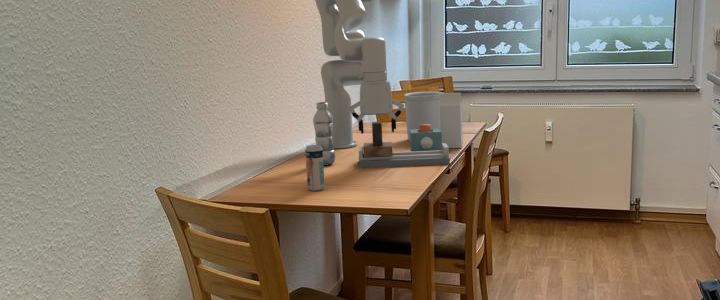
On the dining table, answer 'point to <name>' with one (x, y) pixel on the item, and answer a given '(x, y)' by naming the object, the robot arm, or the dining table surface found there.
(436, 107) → the utensil holder
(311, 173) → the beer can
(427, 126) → the button
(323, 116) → the plastic bottle
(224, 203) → the dining table surface
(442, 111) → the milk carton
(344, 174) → the dining table surface
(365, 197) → the dining table surface
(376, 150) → the carriage
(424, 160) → the rail board
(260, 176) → the dining table surface
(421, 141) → the cabinet
